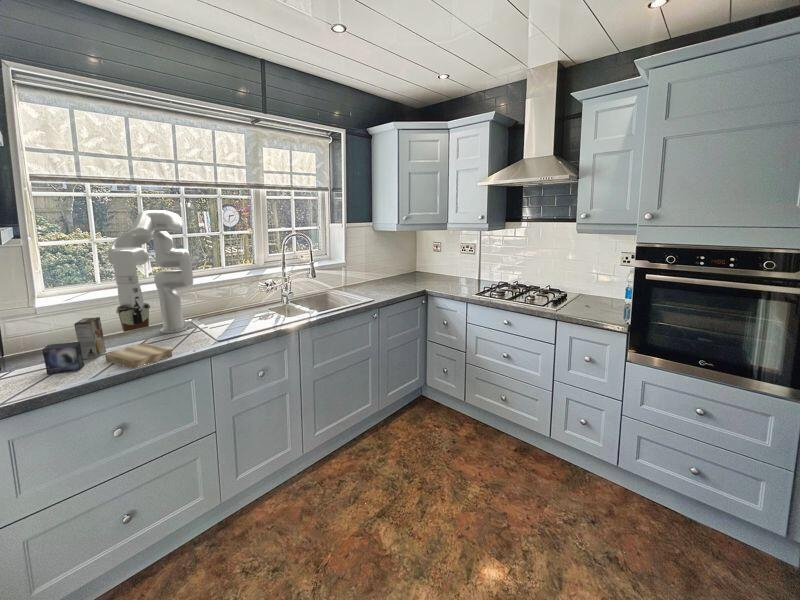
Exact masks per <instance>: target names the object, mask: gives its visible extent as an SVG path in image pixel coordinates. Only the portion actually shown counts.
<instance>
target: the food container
mask: <svg viewBox="0 0 800 600" xmlns="http://www.w3.org/2000/svg"><path fill="white" fill-rule="evenodd" d="M135 307H137V305H135ZM136 309H137V308H136ZM136 309H135V311H136ZM150 309H151V305H150V304H149V303H146V302H144V306H143V309H142V314H141V315H142V323H139V324H134V321H133V315H134V314H133V311H132V308H128V307H123V306H122V305H119V306H117V307H116V311H115V312H116V314H117V315H118V318H119V321H120V324H121V328H122V332H123V333H126V332H132V331H135V330H136V331H137V330H141V329H144V328H145V329H146V328H150V311H149V310H150Z"/></svg>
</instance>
